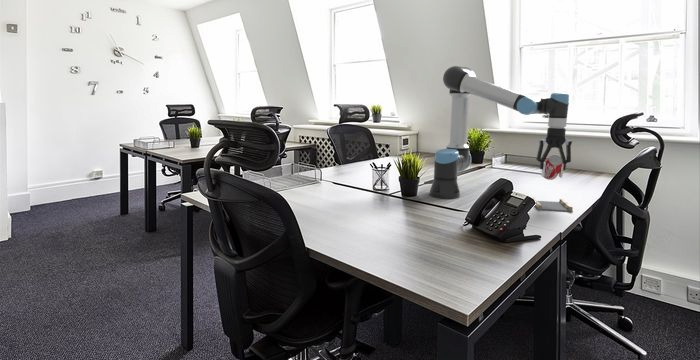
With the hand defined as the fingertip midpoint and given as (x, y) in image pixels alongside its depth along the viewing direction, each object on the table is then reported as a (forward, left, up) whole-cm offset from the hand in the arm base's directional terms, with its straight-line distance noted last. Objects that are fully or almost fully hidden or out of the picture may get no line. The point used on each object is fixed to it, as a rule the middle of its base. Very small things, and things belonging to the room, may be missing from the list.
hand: (551, 176), depth 196 cm
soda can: (-5, +1, 0) cm, 5 cm away
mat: (+3, -1, -14) cm, 14 cm away
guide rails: (+3, -1, -14) cm, 14 cm away
